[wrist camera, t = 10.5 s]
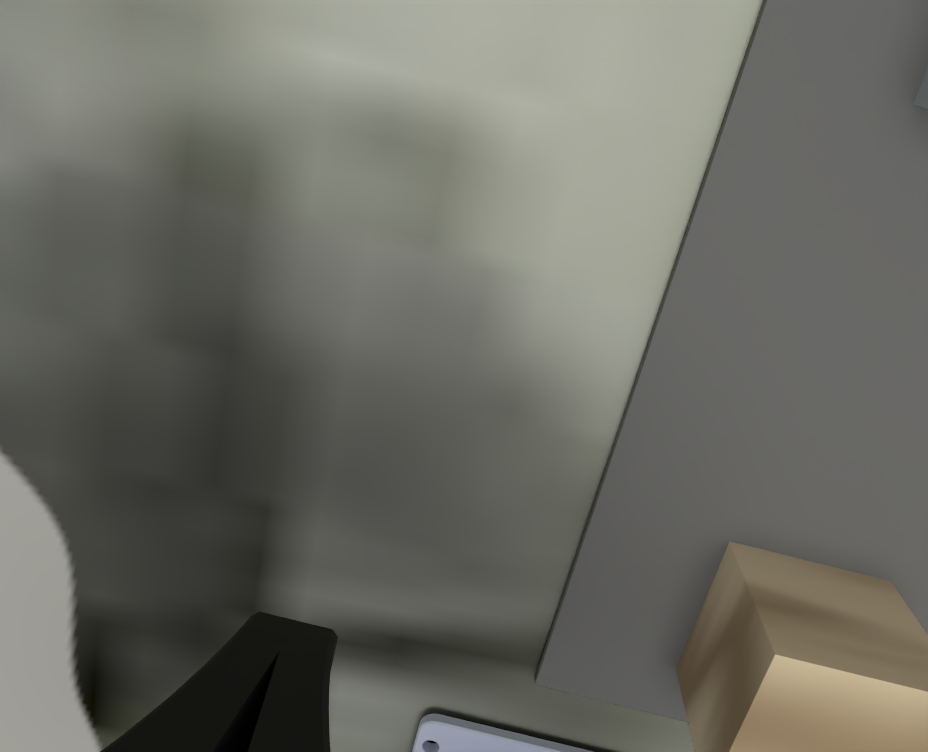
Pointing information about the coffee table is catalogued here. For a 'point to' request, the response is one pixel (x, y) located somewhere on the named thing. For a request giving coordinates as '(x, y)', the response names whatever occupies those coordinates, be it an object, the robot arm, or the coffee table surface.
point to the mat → (774, 356)
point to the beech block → (803, 661)
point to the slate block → (922, 93)
